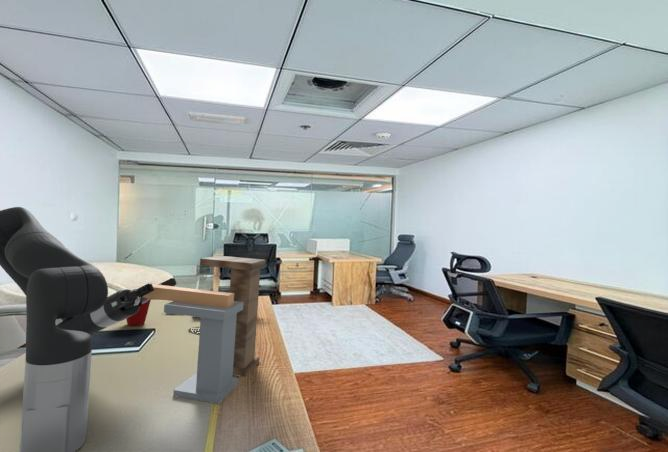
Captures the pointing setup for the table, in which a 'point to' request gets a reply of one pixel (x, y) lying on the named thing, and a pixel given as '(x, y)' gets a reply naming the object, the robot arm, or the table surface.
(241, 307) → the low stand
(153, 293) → the bar
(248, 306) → the tall stand
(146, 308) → the plastic cup
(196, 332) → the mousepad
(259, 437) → the table surface
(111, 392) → the table surface
